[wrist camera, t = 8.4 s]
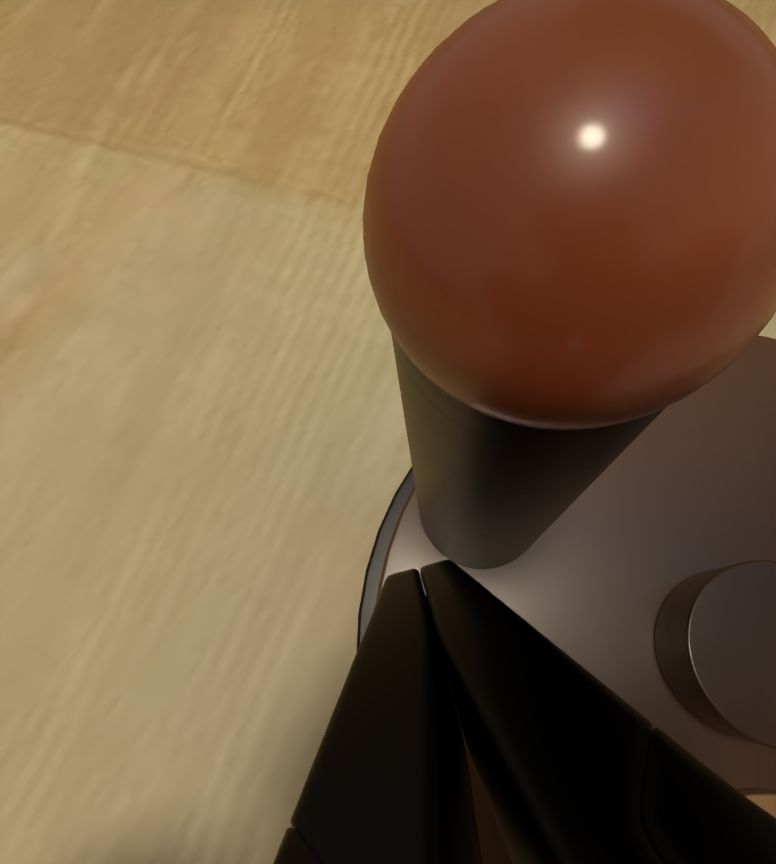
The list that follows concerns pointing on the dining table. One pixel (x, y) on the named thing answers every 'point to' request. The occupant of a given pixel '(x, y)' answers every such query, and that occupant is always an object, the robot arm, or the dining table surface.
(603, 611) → the turntable with crank handle
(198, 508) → the dining table surface
